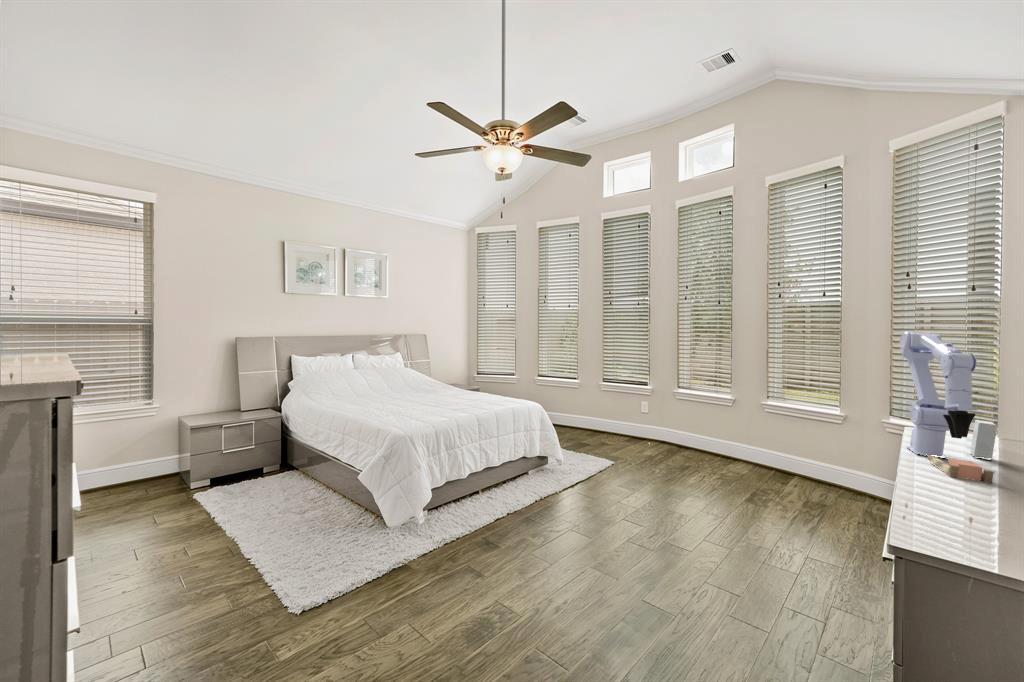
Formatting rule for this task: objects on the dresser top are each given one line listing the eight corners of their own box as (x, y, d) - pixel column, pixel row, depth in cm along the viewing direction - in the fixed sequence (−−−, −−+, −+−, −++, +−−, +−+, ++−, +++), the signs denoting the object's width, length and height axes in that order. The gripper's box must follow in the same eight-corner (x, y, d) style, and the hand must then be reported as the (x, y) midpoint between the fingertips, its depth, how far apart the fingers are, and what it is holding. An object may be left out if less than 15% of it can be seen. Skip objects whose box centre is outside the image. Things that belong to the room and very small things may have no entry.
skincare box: (992, 461, 143) (997, 425, 142) (973, 458, 146) (978, 422, 145) (987, 457, 148) (992, 421, 147) (969, 453, 151) (974, 419, 150)
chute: (927, 461, 139) (928, 451, 139) (964, 466, 136) (965, 456, 136) (950, 476, 126) (951, 465, 126) (992, 483, 122) (993, 472, 122)
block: (947, 471, 131) (949, 457, 131) (969, 474, 129) (971, 461, 129) (956, 477, 126) (958, 464, 126) (980, 481, 124) (982, 467, 124)
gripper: (982, 389, 126) (984, 438, 124) (972, 396, 137) (972, 440, 135) (948, 387, 130) (948, 434, 128) (940, 394, 141) (940, 437, 139)
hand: (958, 437), depth 132 cm, fingers open, 7 cm apart
